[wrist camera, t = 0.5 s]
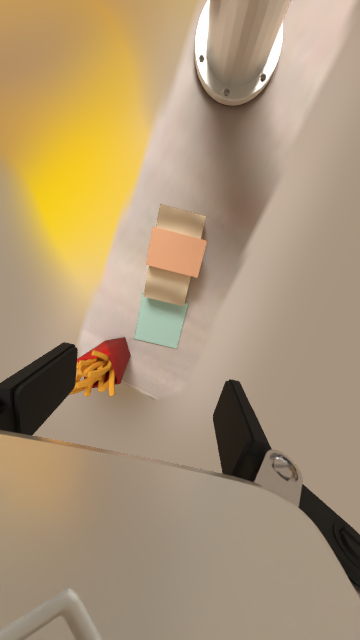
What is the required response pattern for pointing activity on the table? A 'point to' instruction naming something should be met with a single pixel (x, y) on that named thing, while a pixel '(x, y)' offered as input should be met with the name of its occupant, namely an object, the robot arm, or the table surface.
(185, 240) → the card
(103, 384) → the french fries
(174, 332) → the mat
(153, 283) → the sheet
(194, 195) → the table surface
